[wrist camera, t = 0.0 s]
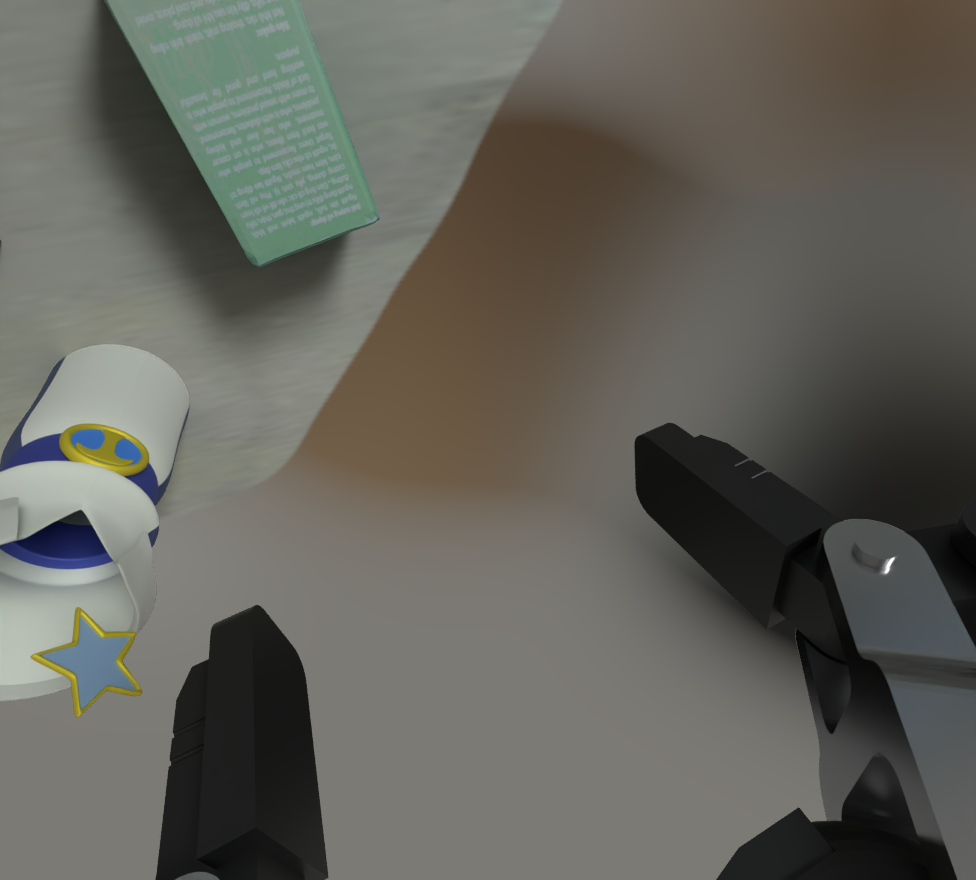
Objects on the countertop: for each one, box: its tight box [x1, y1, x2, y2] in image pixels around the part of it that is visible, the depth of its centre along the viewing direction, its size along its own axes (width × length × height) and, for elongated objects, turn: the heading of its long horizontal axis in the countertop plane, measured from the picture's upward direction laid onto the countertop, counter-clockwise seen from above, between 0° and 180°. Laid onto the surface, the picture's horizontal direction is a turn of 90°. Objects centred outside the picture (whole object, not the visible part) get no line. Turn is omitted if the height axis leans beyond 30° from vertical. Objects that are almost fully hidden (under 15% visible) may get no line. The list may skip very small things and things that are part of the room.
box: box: [104, 0, 379, 267], centre depth 25 cm, size 7×14×8 cm, turn 16°
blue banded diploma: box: [0, 344, 190, 718], centre depth 23 cm, size 8×9×25 cm
